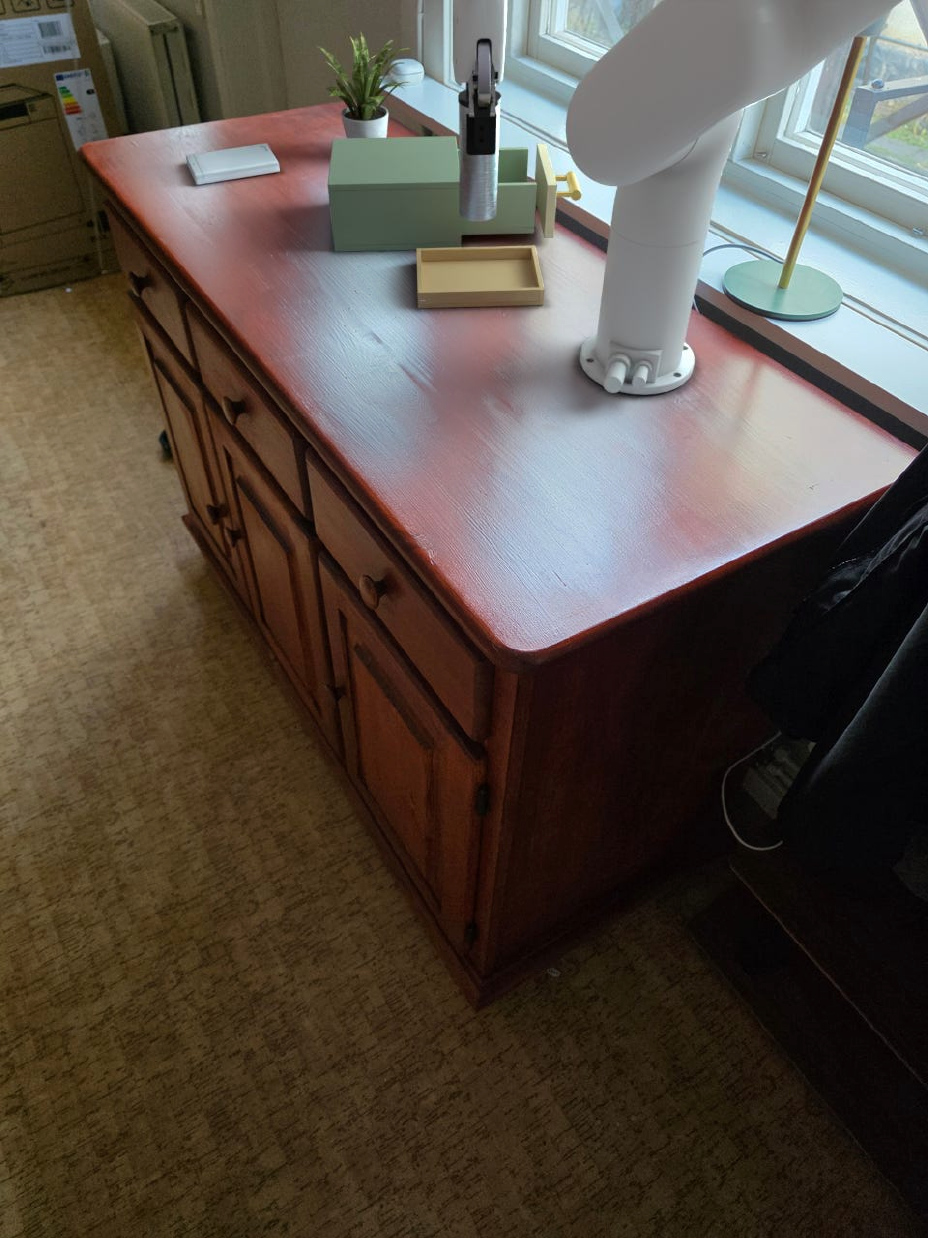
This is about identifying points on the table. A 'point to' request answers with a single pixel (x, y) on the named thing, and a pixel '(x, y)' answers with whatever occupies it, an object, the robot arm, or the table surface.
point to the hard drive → (232, 163)
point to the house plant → (364, 92)
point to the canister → (477, 170)
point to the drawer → (524, 194)
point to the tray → (478, 277)
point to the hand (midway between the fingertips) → (479, 142)
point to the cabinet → (394, 193)
